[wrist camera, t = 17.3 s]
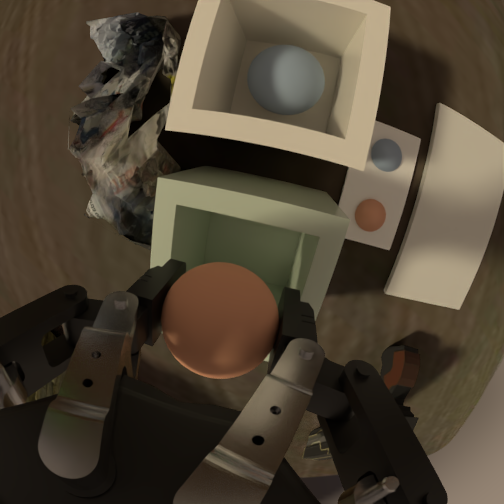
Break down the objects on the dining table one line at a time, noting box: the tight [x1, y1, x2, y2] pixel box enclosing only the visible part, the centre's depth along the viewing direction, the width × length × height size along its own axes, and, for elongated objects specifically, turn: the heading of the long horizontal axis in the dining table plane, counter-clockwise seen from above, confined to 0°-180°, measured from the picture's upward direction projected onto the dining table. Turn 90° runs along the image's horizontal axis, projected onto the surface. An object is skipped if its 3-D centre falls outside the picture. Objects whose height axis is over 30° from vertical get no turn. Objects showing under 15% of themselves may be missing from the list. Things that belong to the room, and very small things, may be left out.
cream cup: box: [165, 0, 391, 171], centre depth 13 cm, size 9×9×8 cm
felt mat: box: [383, 103, 504, 310], centre depth 17 cm, size 16×9×1 cm, turn 169°
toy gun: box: [302, 345, 420, 460], centre depth 24 cm, size 2×18×11 cm, turn 160°
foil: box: [68, 13, 181, 250], centre depth 16 cm, size 12×11×15 cm
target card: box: [338, 121, 421, 251], centre depth 18 cm, size 9×5×1 cm, turn 169°
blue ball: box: [247, 45, 325, 115], centre depth 14 cm, size 5×5×5 cm
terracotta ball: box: [161, 262, 279, 379], centre depth 11 cm, size 5×5×5 cm
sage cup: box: [150, 166, 350, 362], centre depth 17 cm, size 9×9×8 cm
